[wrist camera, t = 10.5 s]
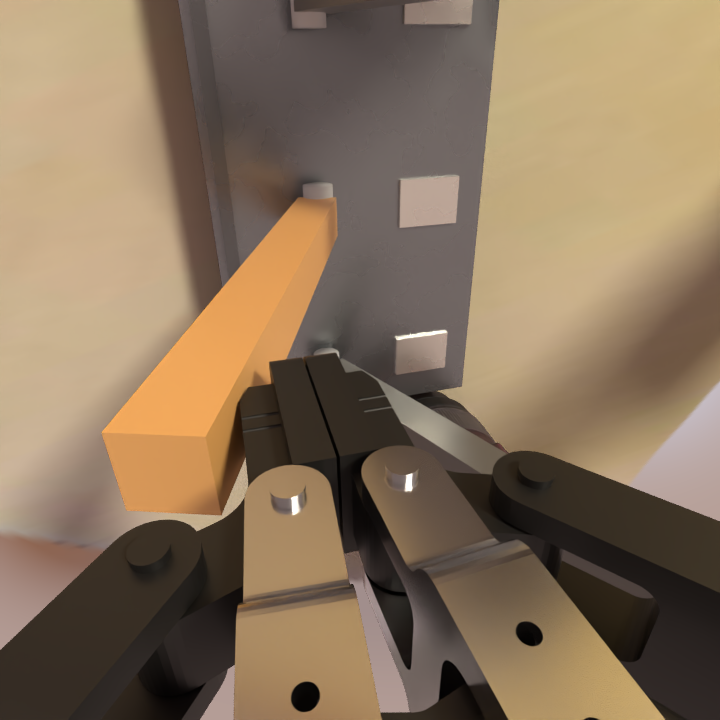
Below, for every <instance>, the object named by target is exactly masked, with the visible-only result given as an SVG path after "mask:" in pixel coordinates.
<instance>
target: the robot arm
mask: <svg viewBox="0 0 720 720" xmlns="http://www.w3.org/2000/svg"><path fill="white" fill-rule="evenodd" d="M269 370H270V379H271V384H267V385H260V386H253V387H248V388H247V390H246V392H245V393H244V395H243V397H242V399H241V400H240V410H241V419H242V429H243V438H244V447H245V456H246V465H247V474H248V489H247V491H246V494H245V498H244V499H243V501H242V502H241V504H240V505H239V506H238V507H237V508H236V509H235V510H234V511H233V512H232V513H231V514H229V515H228V516H227V517H225V518H224V519H222V520H220V521H218V522H216V523H214V524H212V525H210V526H208V527H206V528H204V529H201V530H199V531H197V532H196V530H195V529H194V528H193V527H191V526H190V525H188V524H186V523H184V522H180V521H177V520H158V521H152V522H149V523H145V524H142V525H140V526H137V527H135V528H133V529H131V530H130V531H128V532H126V533H125V534H123V535H122V536H120V537H119V538H118V539H117V540H116V541H114V542H113V543H112V544H111V545H110V546H109V547H108V548H107V549H106V550H105V551H104V552H103V553H102V554H101V555H100V556H99V557H98V558H97V559H96V560H94V561H93V562H92V563H91V564H90V565H89V566H88V567H87V568H86V569H85V570H84V571H83V572H82V573H81V574H80V575H79V576H78V577H77V578H76V579H75V580H73V581H72V583H70V584H69V585H68V586H67V587H66V588H65V589H64V590H63V591H62V592H61V593H60V594H59V595H58V596H57V597H56V598H55V599H54V600H52V601H51V602H50V603H49V604H48V605H47V606H46V607H45V608H44V609H43V610H42V611H41V612H40V613H39V614H38V615H37V616H36V617H35V618H34V619H33V620H32V621H30V622H29V623H28V624H27V625H26V626H25V627H24V628H23V629H22V630H21V631H20V632H19V633H18V634H17V635H16V636H15V637H14V638H13V639H12V640H10V642H8V643H7V644H6V645H5V646H4V647H3V648H2V649H1V650H0V720H200V718H201V717H202V715H203V714H204V712H205V710H206V709H207V707H208V706H209V704H210V703H211V701H212V700H213V698H214V696H215V695H216V693H217V692H218V690H219V689H220V687H221V685H222V683H223V681H224V679H225V677H226V674H227V670H228V668H230V667H232V666H233V665H235V685H234V686H235V688H234V720H720V521H717V520H714V519H712V518H710V517H707V516H704V515H702V514H699V513H697V512H694V511H691V510H689V509H686V508H684V507H681V506H679V505H676V504H673V503H670V502H668V501H665V500H663V499H660V498H658V497H655V496H652V495H650V494H647V493H645V492H642V491H640V490H637V489H634V488H632V487H629V486H627V485H624V484H622V483H619V482H616V481H614V480H611V479H609V478H606V477H604V476H601V475H598V474H596V473H593V472H591V471H588V470H585V469H583V468H580V467H578V466H575V465H572V464H570V463H567V462H565V461H562V460H560V459H557V458H554V457H552V456H549V455H546V454H543V453H538V452H532V451H518V452H512V453H509V454H506V455H504V456H502V457H501V458H499V459H498V460H497V461H496V463H495V465H494V467H493V471H492V474H475V473H459V472H453V471H448V470H445V469H444V468H443V467H442V465H441V464H440V462H439V461H438V460H437V459H436V458H435V457H434V456H433V455H431V454H430V453H428V452H426V451H424V450H422V449H419V448H416V447H415V446H414V445H413V443H412V441H411V439H410V438H409V436H408V434H407V432H406V430H405V429H404V427H403V425H402V423H401V422H400V420H399V418H398V416H397V414H396V413H395V411H394V409H393V408H392V407H391V404H390V402H389V400H388V398H387V397H385V393H384V391H383V390H382V388H381V386H380V384H379V382H378V381H377V380H376V379H374V378H373V377H371V376H370V375H368V374H367V373H365V372H364V371H362V370H361V371H354V372H347V373H346V372H345V370H344V368H343V366H342V363H341V361H340V359H339V357H338V355H337V353H336V352H334V353H327V354H320V355H312V356H305V357H303V359H302V357H299V358H292V359H285V360H277V361H270V362H269ZM358 550H359V553H360V557H361V560H362V563H363V582H364V587H365V591H366V593H367V596H368V598H369V601H370V603H371V605H372V608H373V610H374V613H375V615H376V618H377V620H378V623H379V625H380V627H381V630H382V632H383V635H384V637H385V640H386V642H387V645H388V647H389V650H390V652H391V654H392V657H393V659H394V662H395V664H396V667H397V669H398V672H399V674H400V677H401V679H402V682H403V685H404V688H405V692H406V696H407V700H408V706H409V711H410V712H408V713H380V708H379V703H378V699H377V693H376V688H375V684H374V678H373V673H372V668H371V663H370V659H369V654H368V649H367V644H366V639H365V634H364V629H363V624H362V619H361V614H360V609H359V604H358V600H357V596H356V591H355V588H354V585H353V584H350V583H349V579H348V574H347V568H346V563H345V558H344V553H349V552H353V551H358ZM564 550H565V551H568V552H570V553H572V554H574V555H576V556H578V557H580V558H582V559H584V560H586V561H589V562H591V563H593V564H595V565H597V566H599V567H601V568H603V569H605V570H607V571H609V572H612V573H614V574H616V575H618V576H620V577H622V578H624V579H626V580H628V581H630V582H633V583H635V584H637V585H639V586H640V587H642V588H644V589H645V590H647V591H648V592H649V593H650V594H651V595H652V596H653V598H640V597H637V596H634V595H632V594H630V593H628V592H625V591H623V590H621V589H619V588H617V587H615V586H613V585H611V584H609V583H607V582H605V581H603V580H601V579H599V578H597V577H595V576H593V575H591V574H589V573H587V572H585V571H582V570H580V569H578V568H576V567H574V566H572V565H570V564H568V563H566V562H564V561H562V558H563V554H564ZM343 551H344V553H343Z"/></svg>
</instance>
